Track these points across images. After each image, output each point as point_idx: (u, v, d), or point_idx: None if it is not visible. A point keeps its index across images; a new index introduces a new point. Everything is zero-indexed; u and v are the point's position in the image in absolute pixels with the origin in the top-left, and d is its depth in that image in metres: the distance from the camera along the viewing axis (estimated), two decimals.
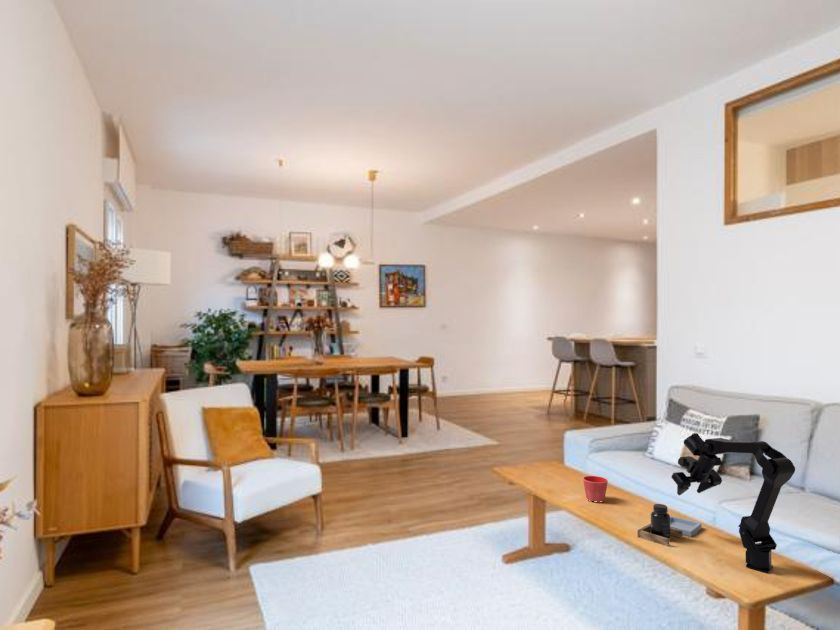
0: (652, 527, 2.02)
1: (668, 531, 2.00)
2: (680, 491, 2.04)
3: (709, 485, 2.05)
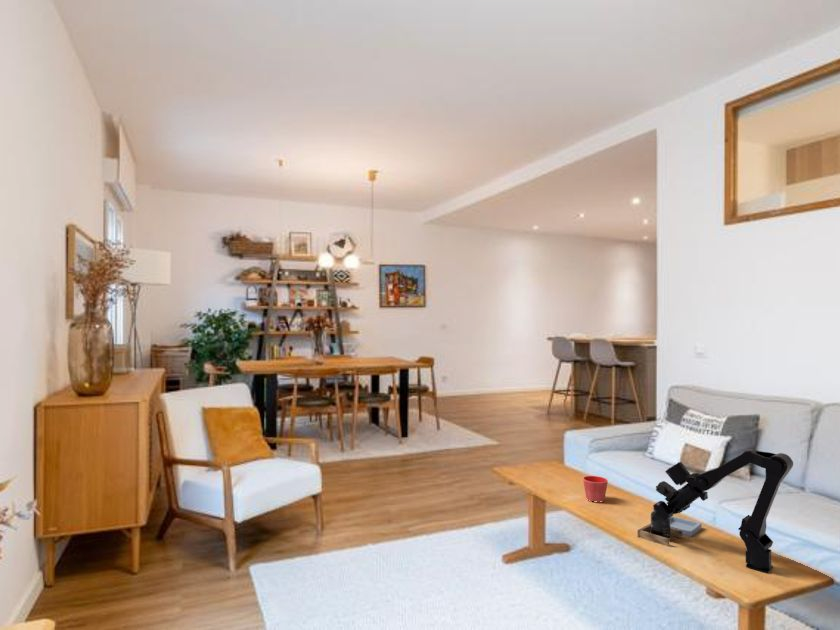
0: (652, 527, 2.02)
1: (668, 531, 2.00)
2: (658, 518, 1.99)
3: (677, 511, 2.02)
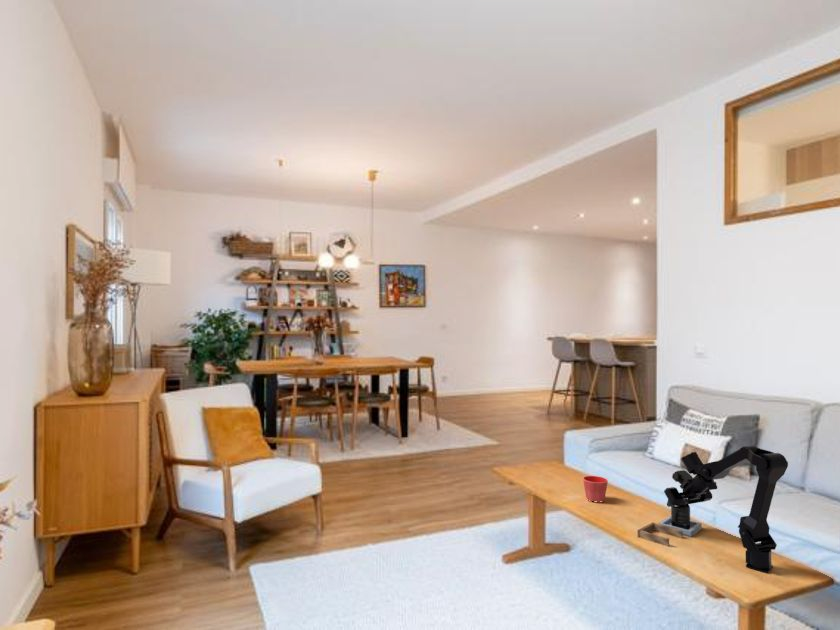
0: (671, 516, 2.12)
1: (685, 521, 2.08)
2: (670, 504, 2.09)
3: (699, 500, 2.09)
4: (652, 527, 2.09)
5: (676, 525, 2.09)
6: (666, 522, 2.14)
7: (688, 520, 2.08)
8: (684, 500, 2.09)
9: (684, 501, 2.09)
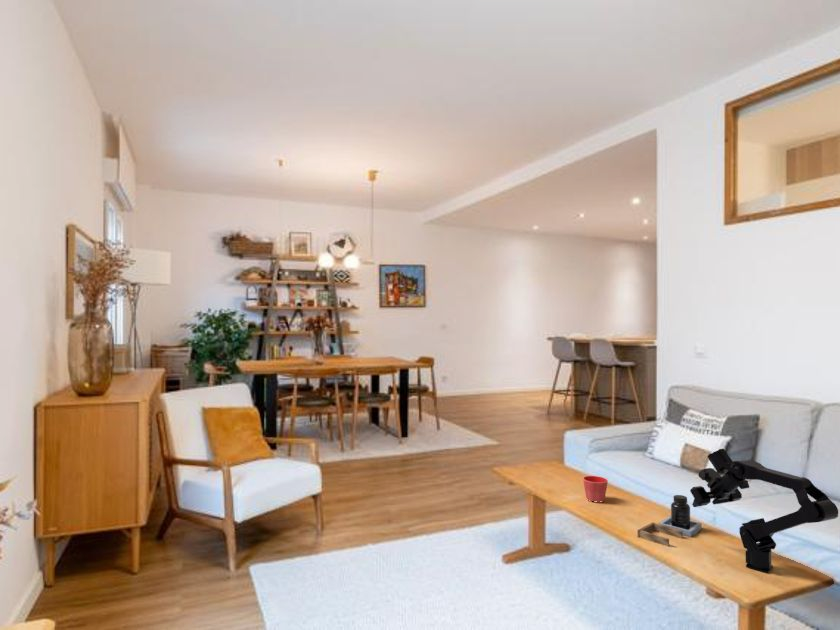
0: (671, 516, 2.12)
1: (685, 521, 2.08)
2: (696, 504, 1.95)
3: (727, 500, 1.95)
4: (652, 527, 2.09)
5: (676, 525, 2.09)
6: (666, 522, 2.14)
7: (688, 520, 2.08)
8: (684, 500, 2.09)
9: (684, 501, 2.09)
